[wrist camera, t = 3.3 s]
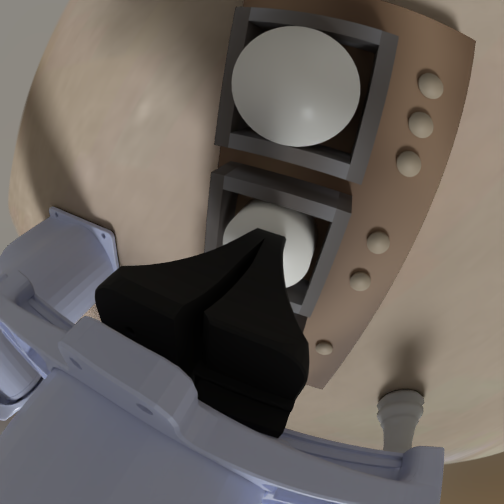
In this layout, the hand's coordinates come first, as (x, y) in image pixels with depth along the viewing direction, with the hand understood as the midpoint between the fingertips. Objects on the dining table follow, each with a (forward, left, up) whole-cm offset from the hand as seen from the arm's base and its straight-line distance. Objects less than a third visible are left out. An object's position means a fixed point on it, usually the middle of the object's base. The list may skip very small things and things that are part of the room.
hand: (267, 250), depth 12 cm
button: (0, +7, -1) cm, 7 cm away
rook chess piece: (+14, -13, -4) cm, 20 cm away
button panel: (+1, 0, -3) cm, 4 cm away
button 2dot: (0, 0, -2) cm, 2 cm away
